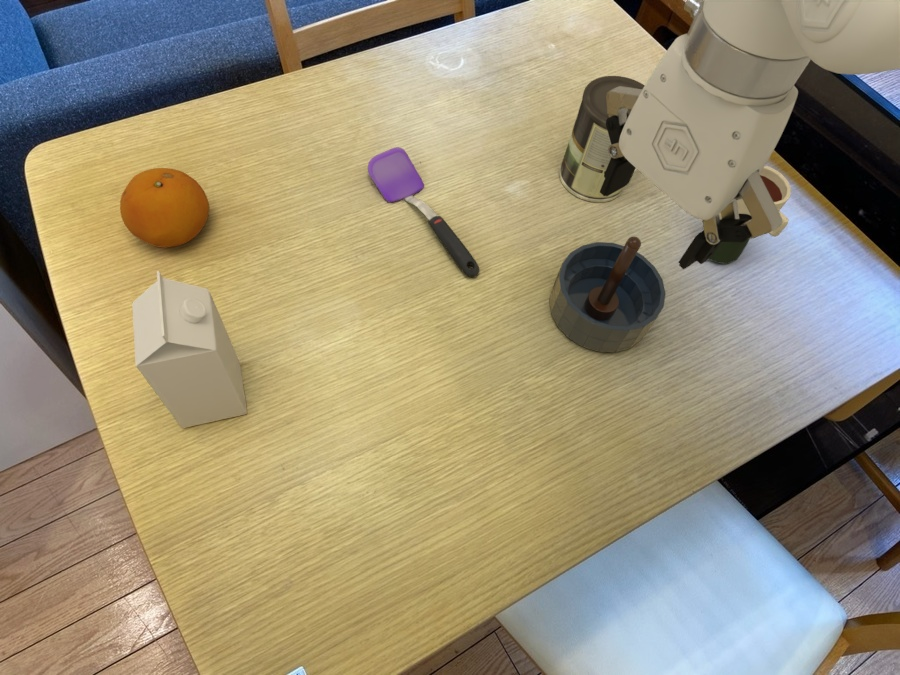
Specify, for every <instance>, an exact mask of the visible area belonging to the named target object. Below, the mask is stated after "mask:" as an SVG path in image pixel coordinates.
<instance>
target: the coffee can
mask: <svg viewBox="0 0 900 675" xmlns="http://www.w3.org/2000/svg"><path fill="white" fill-rule="evenodd" d="M618 86H623V87H630V88H636V89H643V88H644V86H645V84H644V83H641V82H640V81H638V80H636V79H633V78H630V77H627V76H626V77H625V76H621V75H605V76H604V75H603V76H601V77H597V78H595V79H593V80H591V81H590V82H589V83H588V84H587V85H586V86H585V87H584V89H583V92H582V98H581V102H580V105H579V108H578V111H577V113H576V114H577V115H576V118H575V121H574V124H573V127H572V131H571V134H570V136H569V140H568V143H567V146H566V148H565V152H564V155H563V158H562V161H561V164H560V165H559V170H558V171H559V172H558V175H559V180H560V183H561V184H562V186H563V187H564V188H565V189H566V190H567V191H568V193H570V194H571V195H572V196H574V197H575V198H577V199H580V200H583V201H586V202H590V203H607V202H611V201H613V200H615V199H617V198H619V197H620V195H622V193H623V192H624V191H625V189H626V186H625V187H623V188H621V189H619V190H617V191H616V192H614V193H612V194H610V195H609V196H603V195H602V194H601V193H600V190H601V187H602V185H603V182H604V180H605V177H604V174H605V171H606V169H607V167H608V164H609V162H610V159H611V156H610V155H609V153H608V147H609V146H610V145H611V141H610V138H609V134H608V131H607V127H606V120H607V119H608V114H607V102H606V94H607V92H608V91H610V90H612V89H614V88H616V87H618ZM631 110H632V109H628V111H627V113H628V114H630V112H631Z"/></svg>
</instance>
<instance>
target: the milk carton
mask: <svg viewBox="0 0 900 675" xmlns="http://www.w3.org/2000/svg"><path fill="white" fill-rule="evenodd" d="M131 305H132V306H131V308H132V325H133V328H132V329H133V343H134V345H133V346H134V347H133V348H134V364H135V367H136V368H137V370H138V372H140V374H141V375H142V376H143V378H144V379H145V380H146V382H147V383H148V384H149V386H150V387H151V389H152V390H153V391H154V393H155V394H156V395H157V397H158V398H159V400H160V401H161V402H162V403H163V404H164V406H165V408H166V409H167V410H168V411H169V413H170V414H171V416H172V418H173V419H174V420H175V421H176V422H177V424H178V425H179V427H180V428H181V429H187V428H190V427H195V426H199V425H204V424H209V423H213V422H217V421H223V420H226V419H231V418H235V417H239V416H244V415H247V414H248V408H247V402H246V396H245V395H246V394H245V388H244V380H243V373H242V368H241V362H240V359H239V357H238V355H237V352H236V350H235V348H234V345H233V342H232V340H231V338H230V335H229V334H228V331H227V329H226V327H225V324H224V322H223V319H222V317H221V315H220V313H219V310H218V307H217V305H216V303H215V301H214V298H213V296H212V293H211V291H210V290H209V288H206V287H202V286H199V285H195V284H191V283H186V282H182V281H178V280H174V279H170V278H166V277H163V276H162V274H161V272H160V271H159V270H157V271H156V281H155V282H153V284H152V285H150V286H149V287H147V289H146V290H145V291H143V292H142V293H141V294H140V295H139V296H138V297H137V298H135V300H133V301H132V304H131Z"/></svg>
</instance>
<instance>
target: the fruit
mask: <svg viewBox="0 0 900 675" xmlns="http://www.w3.org/2000/svg"><path fill="white" fill-rule="evenodd" d="M119 212H120V217H121V220H122V222H123V224H124V226H125V227H126V229H127V230H128V231H129V232H130V233H131V235H133V236H134V237H135V238H137V239H138V240H140V241H142V242H144V243H146V244H149V245H151V246H155V247H159V248H171V247H177V246H181V245H185V244H186V243H188V242H190V241H192V240H194V238H195V237H196V236H197V235H199V233H200V232H201V231H202V230H203V228H204V227H205V225H206V222H207V220H208V217H209V214H210V203H209V200H208V197H207V195H206V192H205V190H204V189H203V187H202V186H201V184H200V183H199V182H198V181H197V180H196V179H195V178H193V177H192V176H190V174H189V175H188V174H187V173H186V172H184V171H181V170H178V169H174V168H167V167H157V168H155V167H154V168H150V169H146V170H144V171H141V172H139V173H137V174H134V176H133V177H132V178H131V179H130V181H129V182H128V184H127V185H126V187H125V188H124V190H123V191H122V194H121V197H120V201H119Z"/></svg>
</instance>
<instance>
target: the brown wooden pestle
mask: <svg viewBox="0 0 900 675" xmlns="http://www.w3.org/2000/svg"><path fill="white" fill-rule="evenodd" d="M623 246H624V247H623V249H622V251H621V253H620V255H619V257H618V259H617V261H616V263H615V265H614V267H613V269H612V271H611V273H610V275H609V277H608V278H607V280H606V282H605V284H604V286H603V287H596V288H594V289H592V290H591V291H590V293H589V295H588V297H587V299H586V301H585V305H584V306H585V310H586V312H587V313H588V315H589V316H591V317H592V318H594V319H596V320H607V319H610V318H611V317H612V316H613V314H614V313H615V311H616V309H617V308H618V306H619V298H618V296H617V294H616V293H615V291H616V290H617V288H618V286H619V284H620V282H621V281H622V279H623V277H624V275H625V273H626V271H627V270H628V268H629V266H630V264H631V262H632V261H633V259H634V257H635V255H636V253H637V252H638V251H639V250H640V248H641V246H642V241H641V239H640V238H639V237H637V236H630V237H628V238H627V240H626V242H625V244H624V245H623ZM638 253H639V252H638Z"/></svg>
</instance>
